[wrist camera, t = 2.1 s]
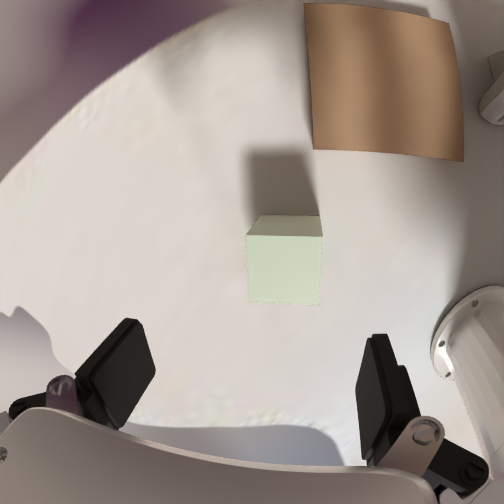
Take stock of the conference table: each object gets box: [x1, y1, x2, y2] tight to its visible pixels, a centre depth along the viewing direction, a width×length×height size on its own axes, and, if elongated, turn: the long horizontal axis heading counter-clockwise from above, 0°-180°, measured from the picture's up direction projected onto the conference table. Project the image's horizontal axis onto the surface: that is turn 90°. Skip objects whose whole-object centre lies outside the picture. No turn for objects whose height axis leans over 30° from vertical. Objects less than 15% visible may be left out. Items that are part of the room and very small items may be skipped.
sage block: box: [246, 215, 323, 305], centre depth 22 cm, size 5×5×6 cm
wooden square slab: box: [304, 3, 464, 162], centre depth 17 cm, size 12×12×3 cm
